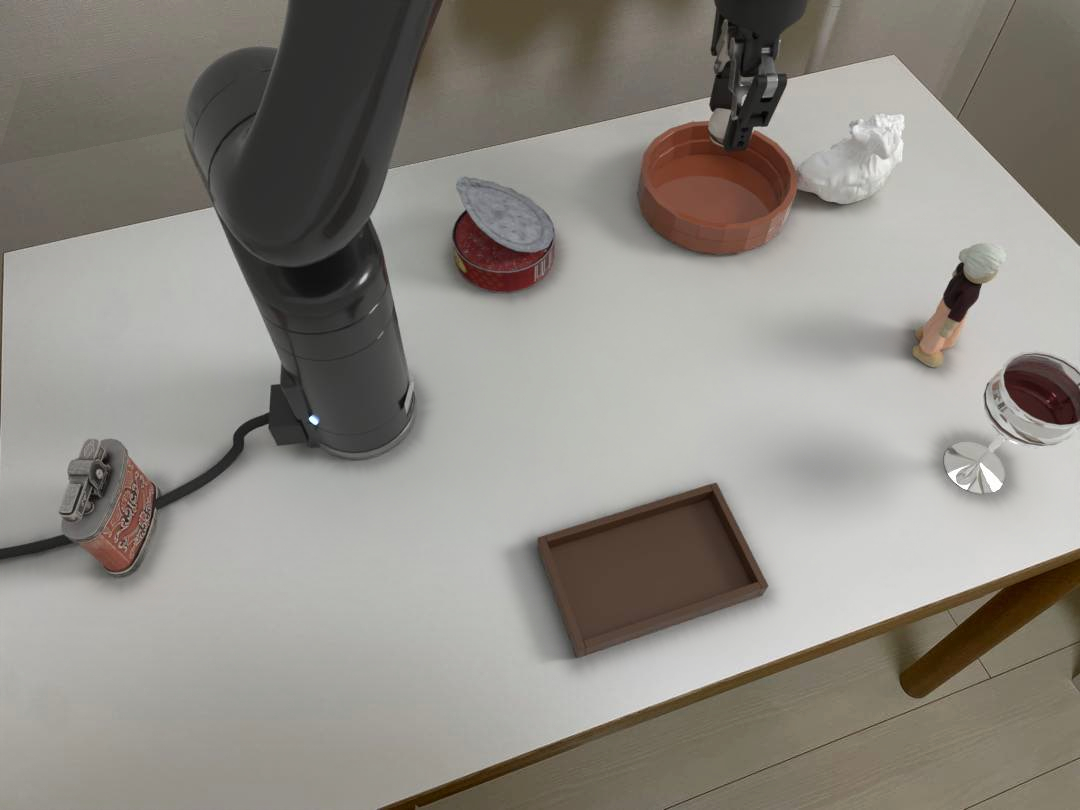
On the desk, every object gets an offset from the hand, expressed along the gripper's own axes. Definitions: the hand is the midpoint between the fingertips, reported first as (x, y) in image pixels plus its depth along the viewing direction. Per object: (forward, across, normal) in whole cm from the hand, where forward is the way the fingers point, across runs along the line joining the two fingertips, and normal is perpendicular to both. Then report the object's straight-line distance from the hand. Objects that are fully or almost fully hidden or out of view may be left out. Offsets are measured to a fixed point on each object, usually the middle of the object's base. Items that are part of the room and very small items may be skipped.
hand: (727, 128), depth 80 cm
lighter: (+10, +31, -54) cm, 63 cm away
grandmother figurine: (+9, +20, +16) cm, 27 cm away
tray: (+10, +39, -14) cm, 42 cm away
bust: (+9, 0, +14) cm, 17 cm away
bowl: (+9, 0, 0) cm, 9 cm away
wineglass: (+10, +33, +15) cm, 38 cm away
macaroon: (+1, 0, 0) cm, 1 cm away
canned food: (+10, +5, -22) cm, 24 cm away
